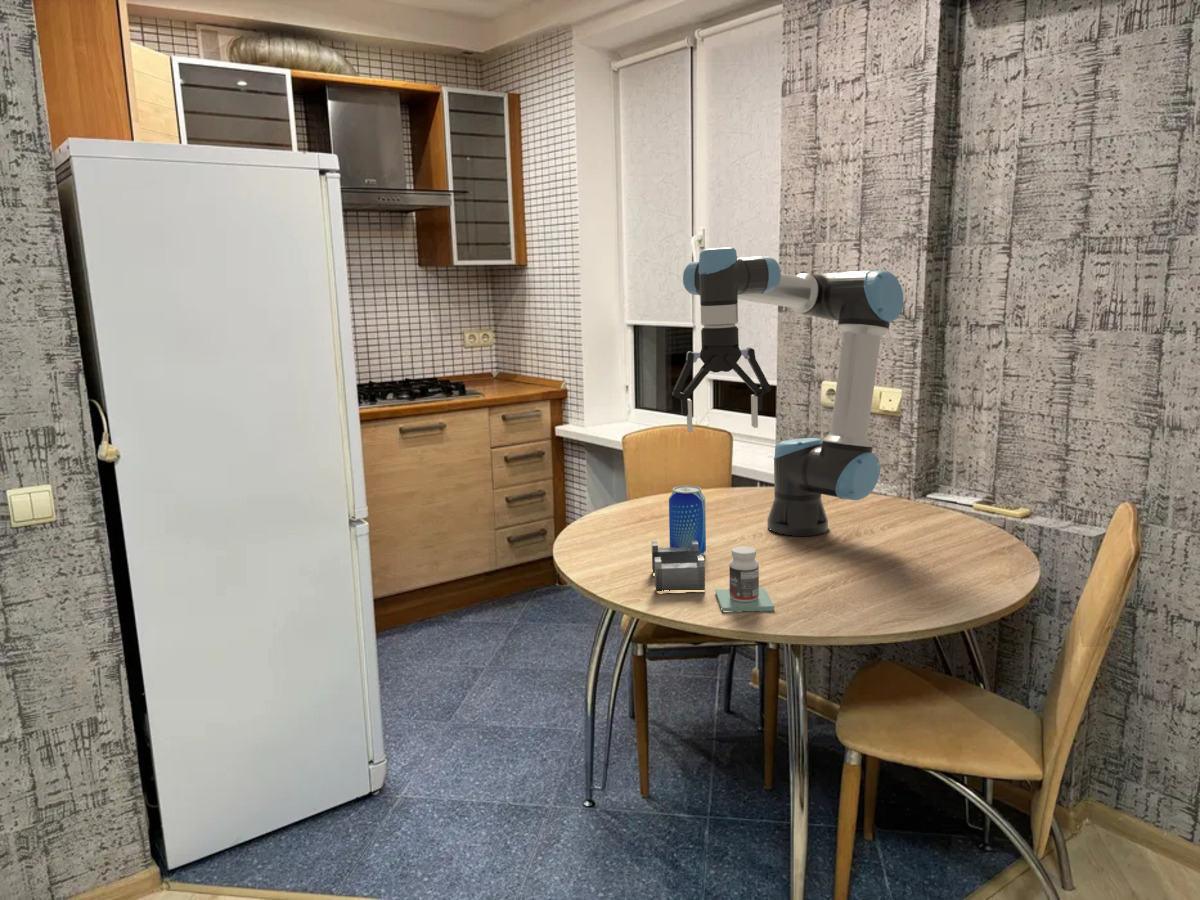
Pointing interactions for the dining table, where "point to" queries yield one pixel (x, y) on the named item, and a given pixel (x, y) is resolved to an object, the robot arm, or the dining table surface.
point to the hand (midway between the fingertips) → (722, 428)
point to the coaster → (731, 605)
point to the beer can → (687, 517)
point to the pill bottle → (744, 575)
